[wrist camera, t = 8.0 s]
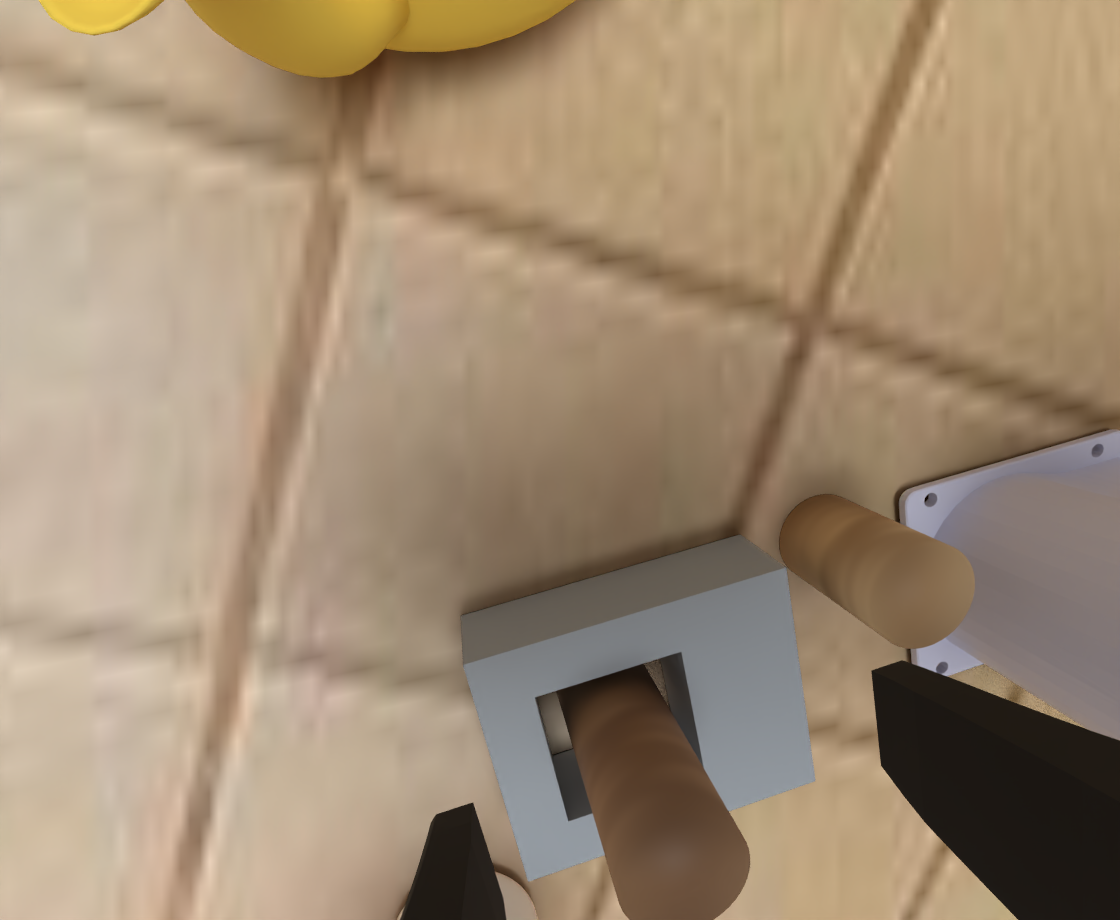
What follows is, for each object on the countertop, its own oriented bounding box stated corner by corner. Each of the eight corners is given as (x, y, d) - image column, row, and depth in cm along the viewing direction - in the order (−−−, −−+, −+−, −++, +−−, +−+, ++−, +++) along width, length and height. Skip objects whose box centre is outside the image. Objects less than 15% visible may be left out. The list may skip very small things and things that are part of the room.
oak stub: (855, 484, 22) (972, 530, 17) (863, 564, 22) (977, 629, 18) (774, 507, 21) (869, 561, 16) (785, 588, 22) (879, 662, 17)
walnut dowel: (636, 627, 21) (744, 798, 14) (648, 705, 22) (755, 908, 14) (548, 649, 21) (607, 839, 13) (563, 728, 22) (627, 950, 14)
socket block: (740, 534, 21) (786, 567, 18) (769, 724, 23) (815, 781, 20) (460, 615, 20) (463, 665, 17) (517, 808, 22) (528, 881, 19)
